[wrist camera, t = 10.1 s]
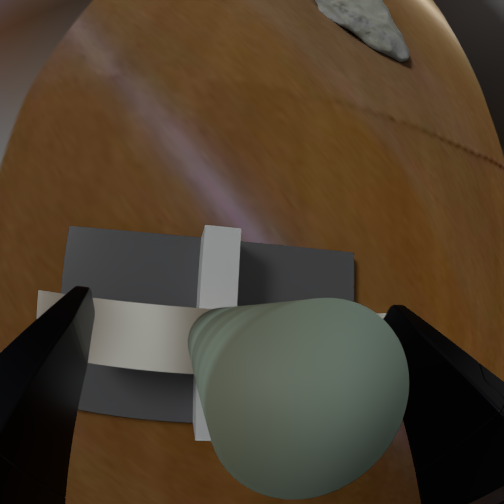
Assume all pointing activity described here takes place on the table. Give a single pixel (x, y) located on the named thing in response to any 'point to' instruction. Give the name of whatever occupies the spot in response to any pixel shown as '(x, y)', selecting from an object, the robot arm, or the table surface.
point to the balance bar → (272, 382)
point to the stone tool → (368, 24)
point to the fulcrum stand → (187, 299)
